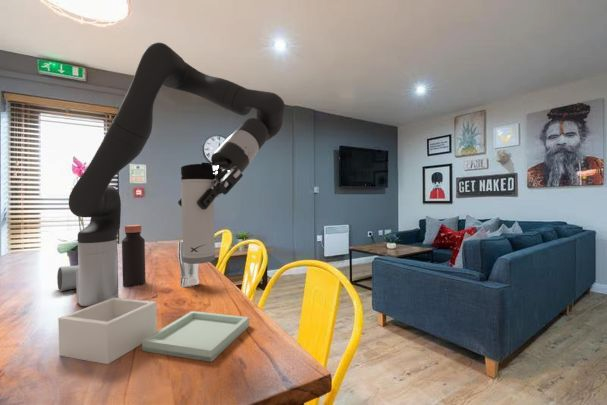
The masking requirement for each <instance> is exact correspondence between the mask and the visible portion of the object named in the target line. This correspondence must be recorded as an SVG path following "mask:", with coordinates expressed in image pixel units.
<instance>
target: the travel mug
mask: <svg viewBox="0 0 607 405" xmlns="http://www.w3.org/2000/svg"><path fill="white" fill-rule="evenodd" d="M180 175H181V178H180V188H181V189H180V190H181V191H180V192H181V194H180V195H181V198H180V199H181V200H182V207H181V234H182V236H181V237H182V240H183V262H185V263H188V264H199V265H200V264H206V263H210V262H213V261H214V260H216V252H215V251H216V247H215V246H216V241H215V238H216V237H215V202H214V200H215V199H214V200H213V201H212V203H211V204H210V205H209V206H208V208H207V209H201V208H200V207H199V206H198V205H197V201H198V200H199V198H200V197H201V196H202V195H203V194H204V193H205V192H206V190H207V189H209V187H210V184H211V182H212V180H211V179H212V175H213V166H212V162H201V163H192V164H186V165H185V164H184V165H182V166H181V167H180ZM209 190H210V189H209Z"/></svg>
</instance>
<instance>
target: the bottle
mask: <svg viewBox="0 0 607 405" xmlns="http://www.w3.org/2000/svg"><path fill="white" fill-rule="evenodd" d="M141 234H142V225H141V224H131V225H125V226H124V235H125V237H124V238H123V239H122V240H121V258H122V259H121V264H122V266H121V268H122V286H123V287H125V288H126V287H127V288H129V287H132V288H133V287H138V285H139V286H141V285H144V284H145V283H146V280H147V279H146V244H145V243H146V242H145V238H143V237H142V236H141Z"/></svg>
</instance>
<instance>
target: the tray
mask: <svg viewBox="0 0 607 405" xmlns="http://www.w3.org/2000/svg"><path fill="white" fill-rule="evenodd" d="M249 327H250V317H249V316H241V315H231V314H222V313H215V312H204V311H203V312H202V311H195V310H191V311H189V312H188V313H186V314H185V315H183V316H181V317H179V318H177V319H176V320H174V321H173V322H171V323H169V324H168V325H166V326H164V327H163V328H161V329H159V330H157V332H155V333H154V334H152V335H150V336H149V337H147V338H145V339H144V340H142V344H141V350H142V352H146V353H147V352H148V353H153V354H159V355H160V354H161V355H167V356H172V357H180V358H184V359H190V360H191V359H193V360H198V361H204V362H210V363H212V362H213V361H215V359H216V358H217V357H219V356H220V354H222V353H223V352H224V350H226V348H228V347H229V346H230V345H231V344H232V343H233V342H234V341H236V339H238V338H239V337H240V336H241V335H242V334H243V333H244V332H245V331H246V330H247V329H248V328H249Z"/></svg>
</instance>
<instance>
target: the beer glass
mask: <svg viewBox="0 0 607 405" xmlns="http://www.w3.org/2000/svg"><path fill="white" fill-rule="evenodd" d="M177 242H178V243H177V245H178V246H177V257H178V258H177V260H178V263H179V271H180V281H179V286H180V287H181V288H193V287H195V285H197V286H199V285H200V279H199V267H200V266H199V265H200V264H188V263H185V262H183V239H179V240H178V241H177ZM192 286H193V287H192Z"/></svg>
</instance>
